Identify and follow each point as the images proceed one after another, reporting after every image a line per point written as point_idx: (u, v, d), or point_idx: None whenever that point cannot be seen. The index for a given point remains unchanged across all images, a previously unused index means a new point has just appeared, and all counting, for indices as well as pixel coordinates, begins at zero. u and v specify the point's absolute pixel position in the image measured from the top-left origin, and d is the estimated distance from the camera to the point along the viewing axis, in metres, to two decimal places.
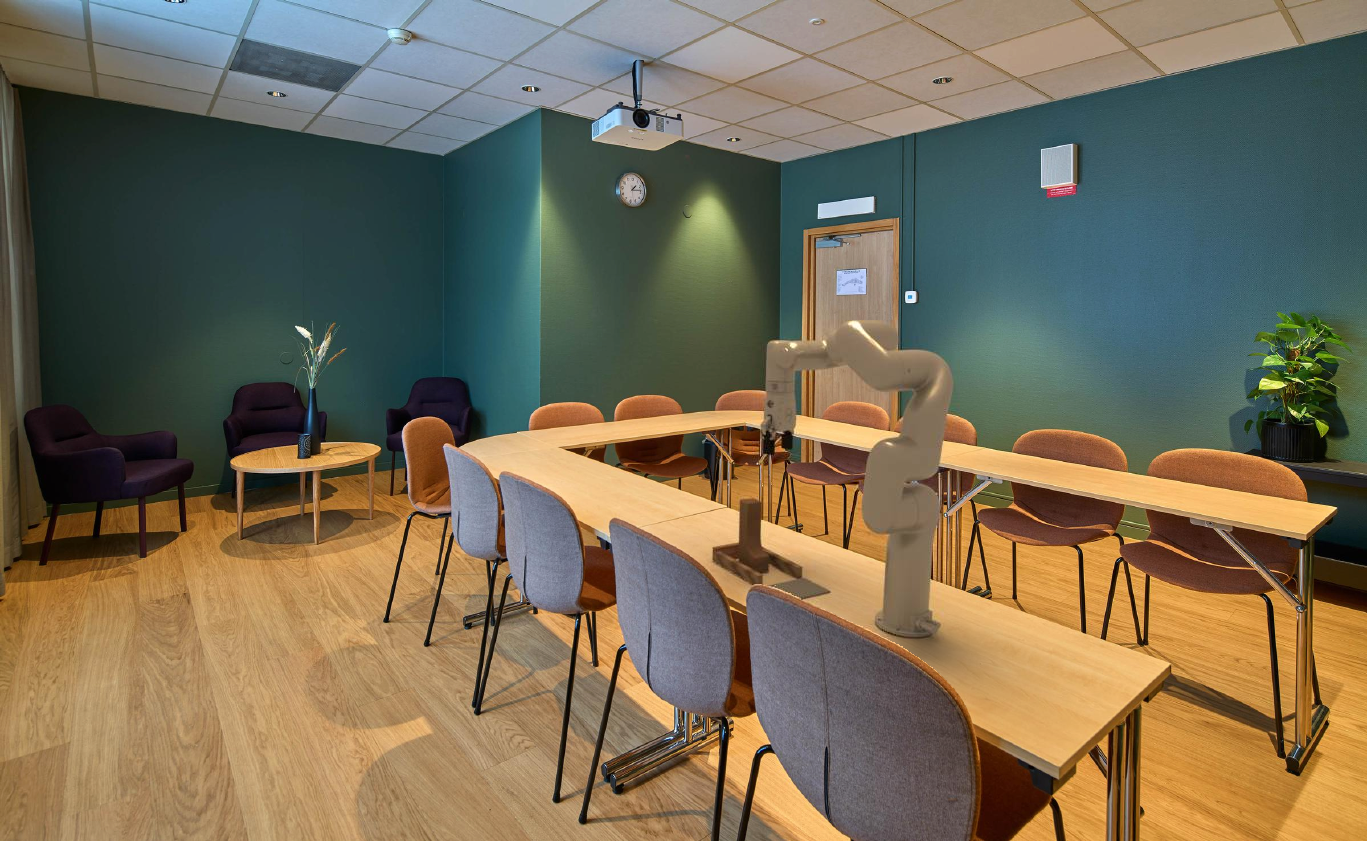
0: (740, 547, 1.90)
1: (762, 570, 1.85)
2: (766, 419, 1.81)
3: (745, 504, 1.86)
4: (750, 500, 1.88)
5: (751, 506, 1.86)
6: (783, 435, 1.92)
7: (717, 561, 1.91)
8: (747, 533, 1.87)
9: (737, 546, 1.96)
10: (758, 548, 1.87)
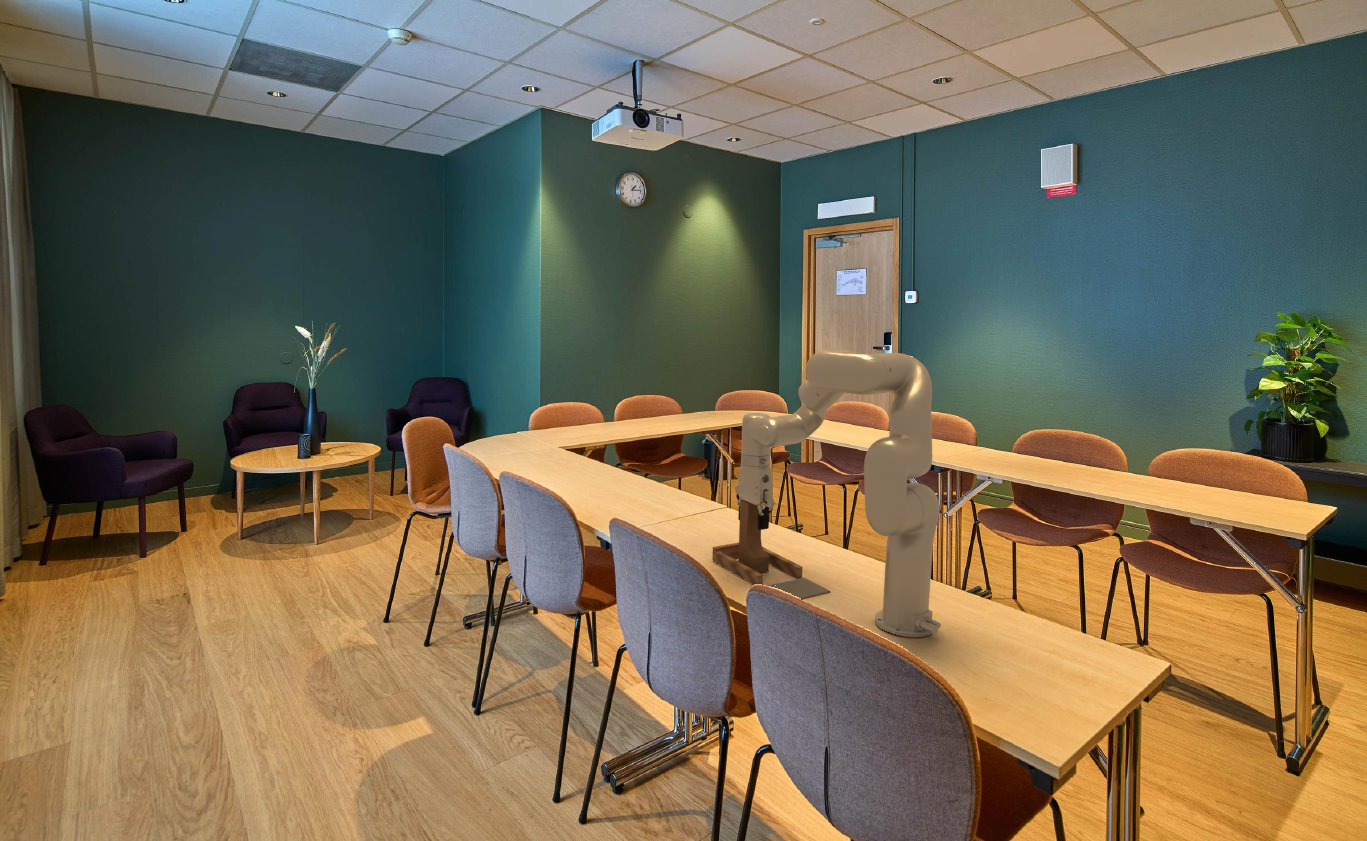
0: (740, 547, 1.90)
1: (762, 570, 1.85)
2: (768, 495, 1.81)
3: (745, 504, 1.86)
4: None
5: (751, 506, 1.86)
6: None
7: (717, 561, 1.91)
8: (748, 533, 1.87)
9: (737, 546, 1.96)
10: (758, 548, 1.87)
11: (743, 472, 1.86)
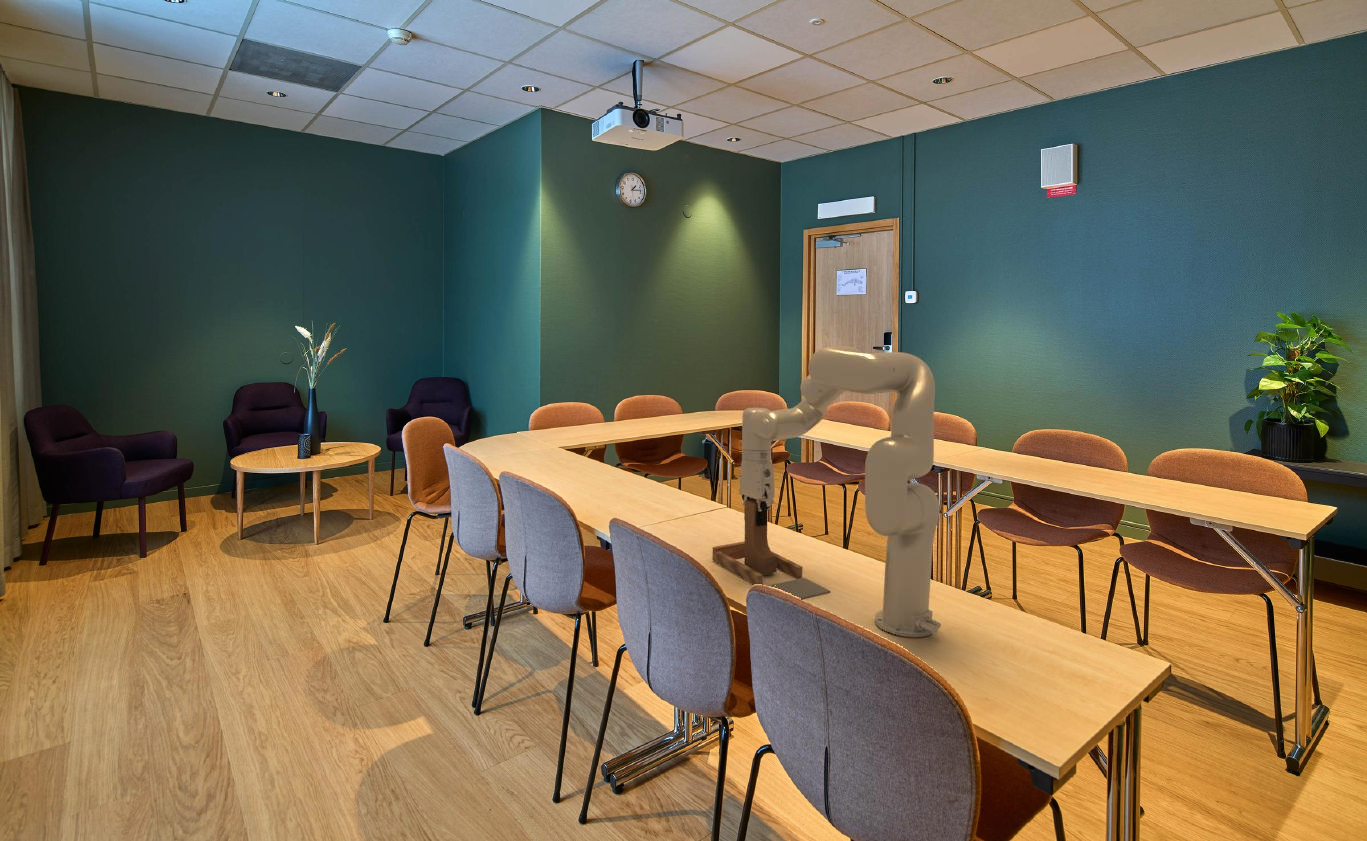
0: (746, 548, 1.88)
1: (771, 570, 1.83)
2: (769, 493, 1.81)
3: (751, 504, 1.84)
4: None
5: None
6: None
7: (717, 561, 1.91)
8: (754, 534, 1.84)
9: (737, 546, 1.96)
10: (765, 548, 1.85)
11: (744, 467, 1.85)
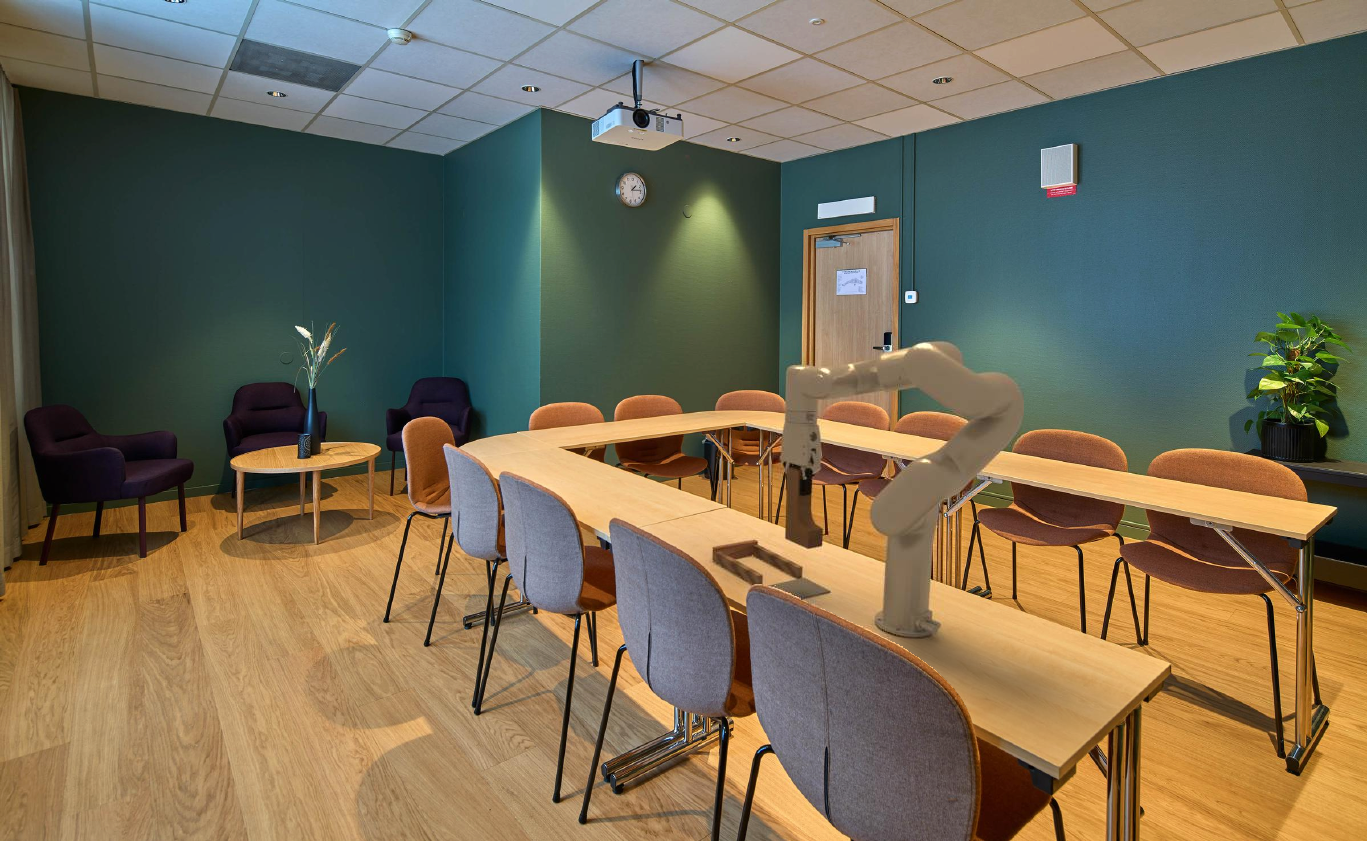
0: (788, 520, 1.71)
1: (816, 544, 1.66)
2: (815, 459, 1.63)
3: (795, 472, 1.67)
4: (799, 467, 1.69)
5: None
6: None
7: (717, 561, 1.91)
8: (798, 504, 1.67)
9: (737, 546, 1.96)
10: (809, 521, 1.68)
11: (787, 431, 1.68)
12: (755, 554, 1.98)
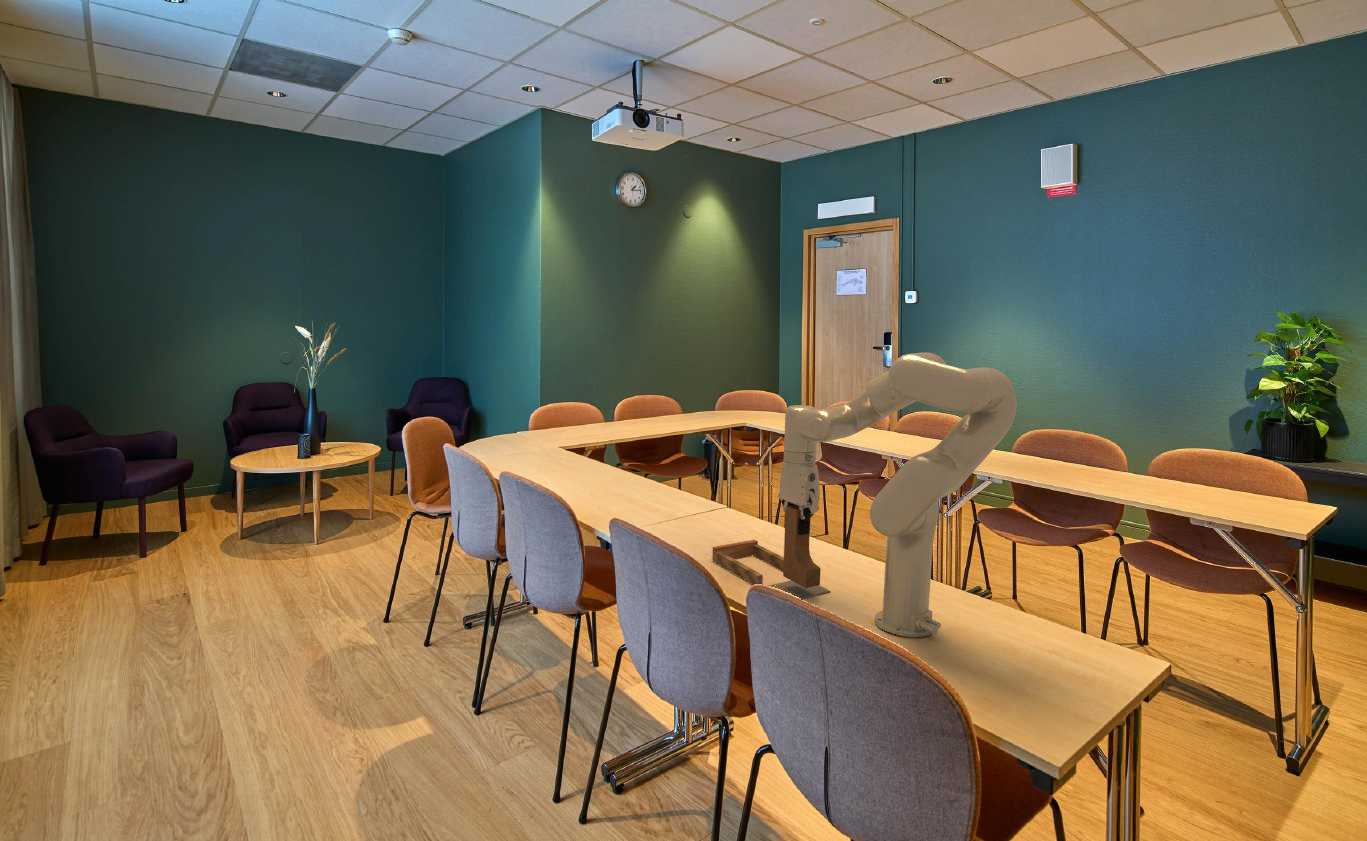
0: (786, 558, 1.72)
1: (814, 584, 1.67)
2: (813, 499, 1.65)
3: (793, 511, 1.68)
4: (797, 506, 1.70)
5: None
6: None
7: (717, 561, 1.91)
8: (796, 543, 1.69)
9: (737, 546, 1.96)
10: (807, 559, 1.70)
11: (786, 470, 1.69)
12: (755, 554, 1.98)
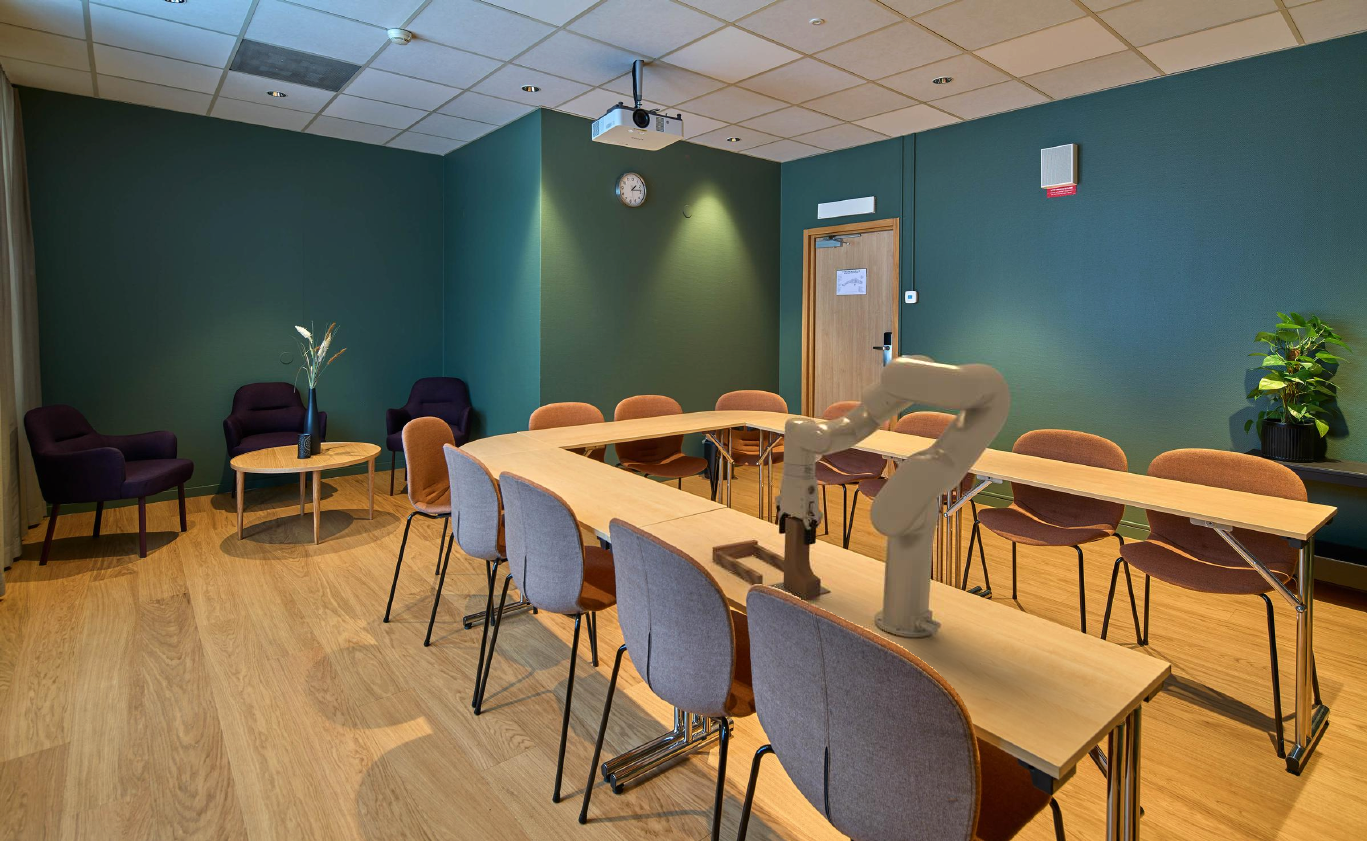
0: (786, 570, 1.72)
1: (814, 595, 1.68)
2: (815, 507, 1.64)
3: (793, 523, 1.69)
4: (797, 518, 1.71)
5: (800, 525, 1.69)
6: (782, 519, 1.74)
7: (717, 561, 1.91)
8: (796, 555, 1.69)
9: (737, 546, 1.96)
10: (807, 571, 1.70)
11: (785, 482, 1.70)
12: (755, 554, 1.98)
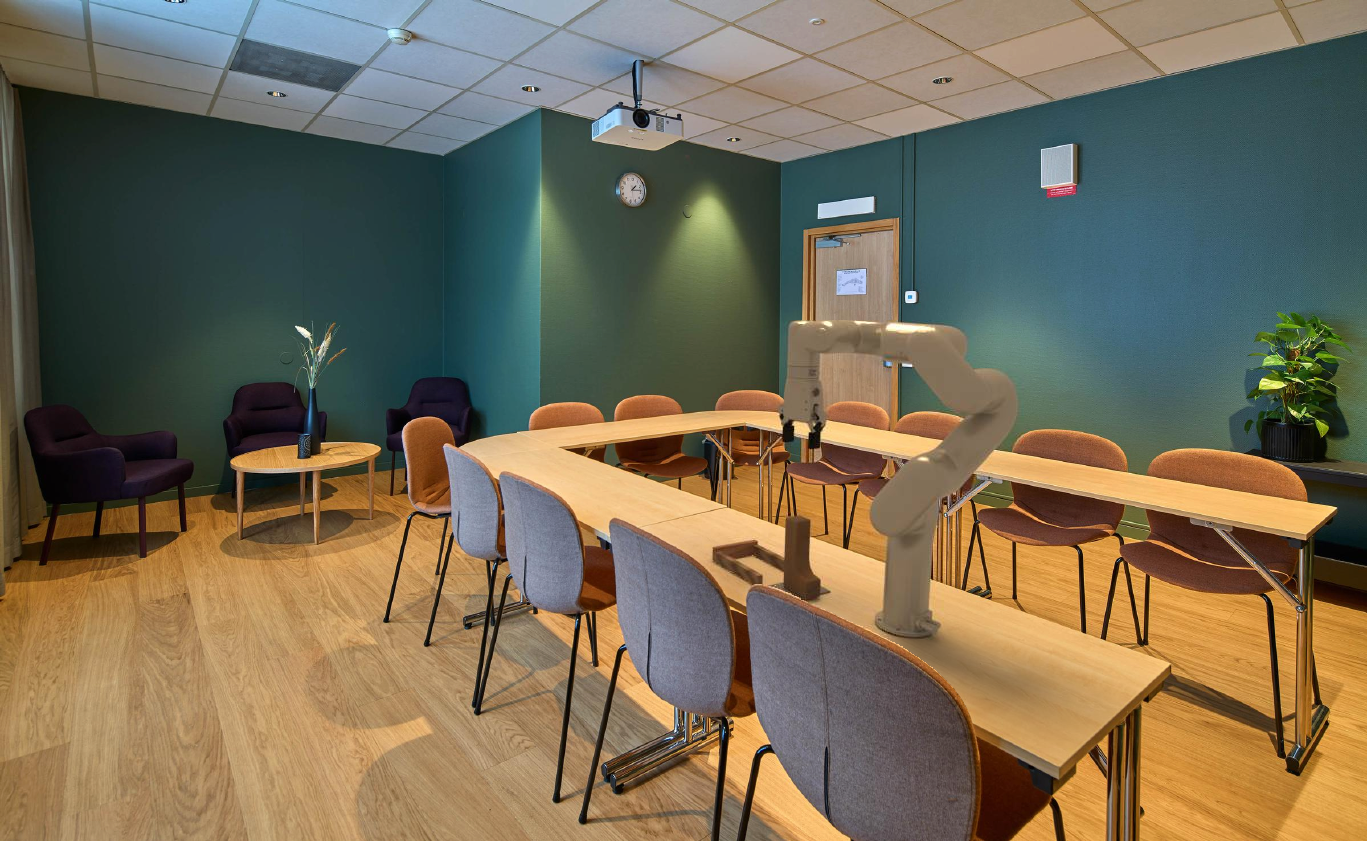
0: (786, 570, 1.72)
1: (814, 595, 1.68)
2: (820, 409, 1.61)
3: (793, 523, 1.69)
4: (797, 518, 1.71)
5: (800, 525, 1.69)
6: (786, 427, 1.71)
7: (717, 561, 1.91)
8: (796, 555, 1.69)
9: (737, 546, 1.96)
10: (807, 571, 1.70)
11: (789, 387, 1.67)
12: (755, 554, 1.98)
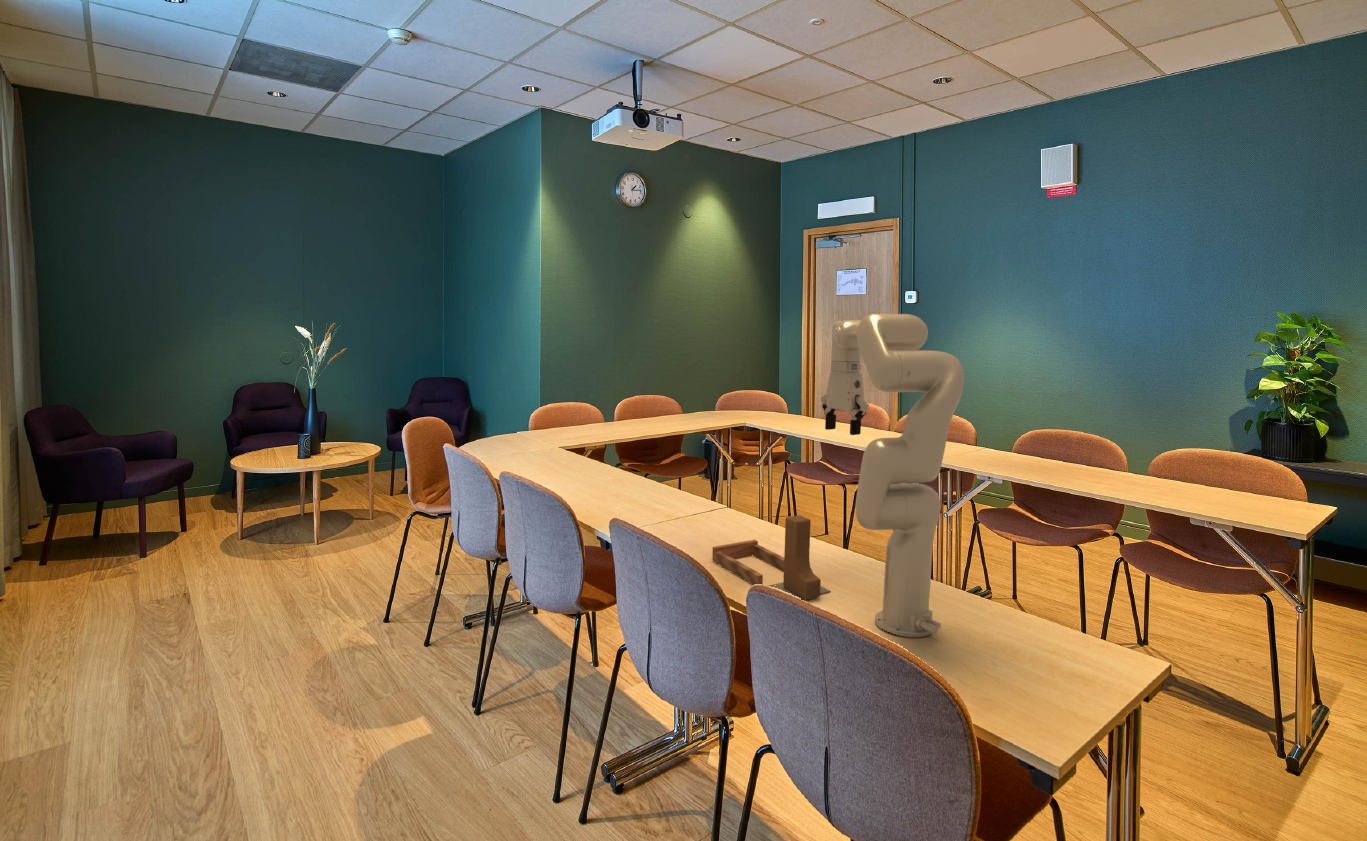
0: (786, 570, 1.72)
1: (814, 595, 1.68)
2: (861, 399, 1.82)
3: (793, 523, 1.69)
4: (797, 518, 1.71)
5: (800, 525, 1.69)
6: (829, 416, 1.92)
7: (717, 561, 1.91)
8: (796, 555, 1.69)
9: (737, 546, 1.96)
10: (807, 571, 1.70)
11: (833, 380, 1.87)
12: (755, 554, 1.98)
